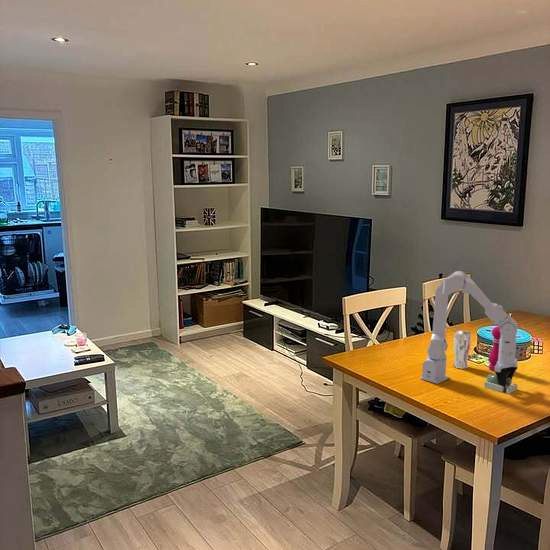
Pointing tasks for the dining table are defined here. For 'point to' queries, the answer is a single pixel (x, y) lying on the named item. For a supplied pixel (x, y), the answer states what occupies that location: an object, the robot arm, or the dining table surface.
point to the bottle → (494, 380)
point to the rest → (501, 387)
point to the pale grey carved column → (461, 348)
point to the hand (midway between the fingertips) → (504, 385)
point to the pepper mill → (494, 348)
